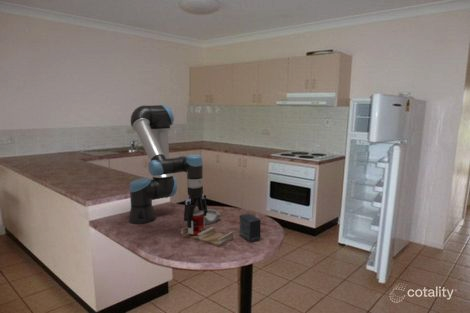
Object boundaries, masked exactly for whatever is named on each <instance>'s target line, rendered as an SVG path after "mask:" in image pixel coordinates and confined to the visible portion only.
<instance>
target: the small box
mask: <svg viewBox="0 0 470 313" xmlns="http://www.w3.org/2000/svg"><path fill="white" fill-rule="evenodd" d="M239 236H240V237H241V238H243V239H244V240H246V241H247V242H248V243H253V242H256V241H261V219H260V218H259V217H257V216H254V215H253V214H251V213H246V214H240V215H239Z"/></svg>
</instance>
